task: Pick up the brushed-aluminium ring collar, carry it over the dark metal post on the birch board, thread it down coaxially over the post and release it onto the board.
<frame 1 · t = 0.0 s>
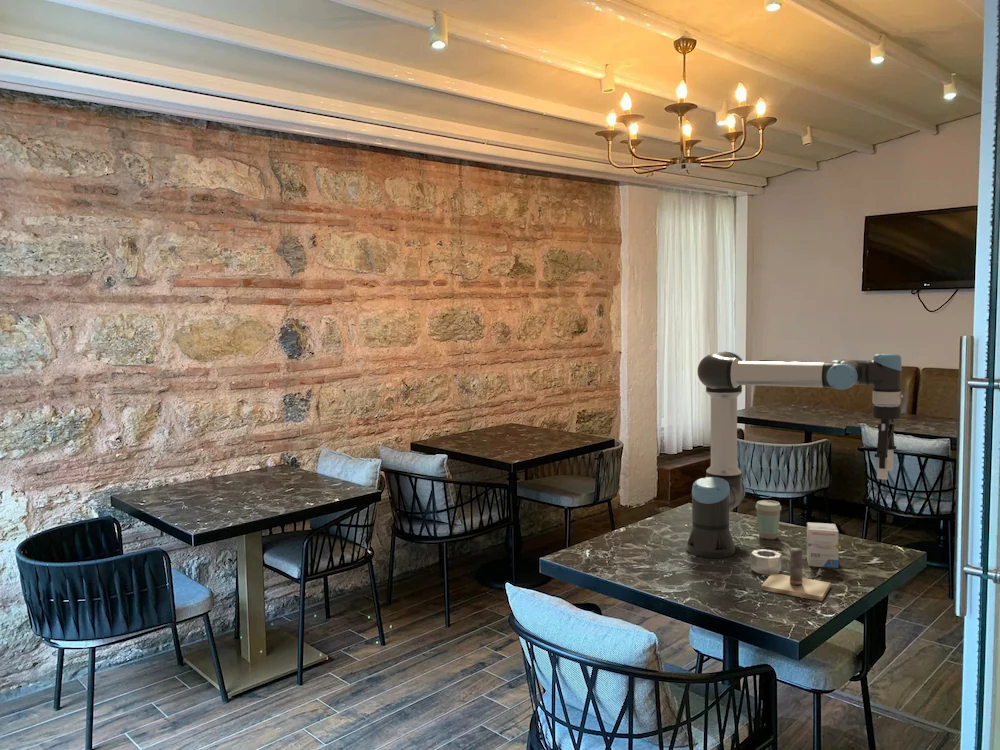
hand: (885, 474, 223), 28 cm above the table, fingers open, 13 cm apart
coffee cup: (768, 537, 256), on the table
ring: (766, 569, 223), on the table
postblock: (796, 588, 208), on the table
ink box: (821, 563, 229), on the table
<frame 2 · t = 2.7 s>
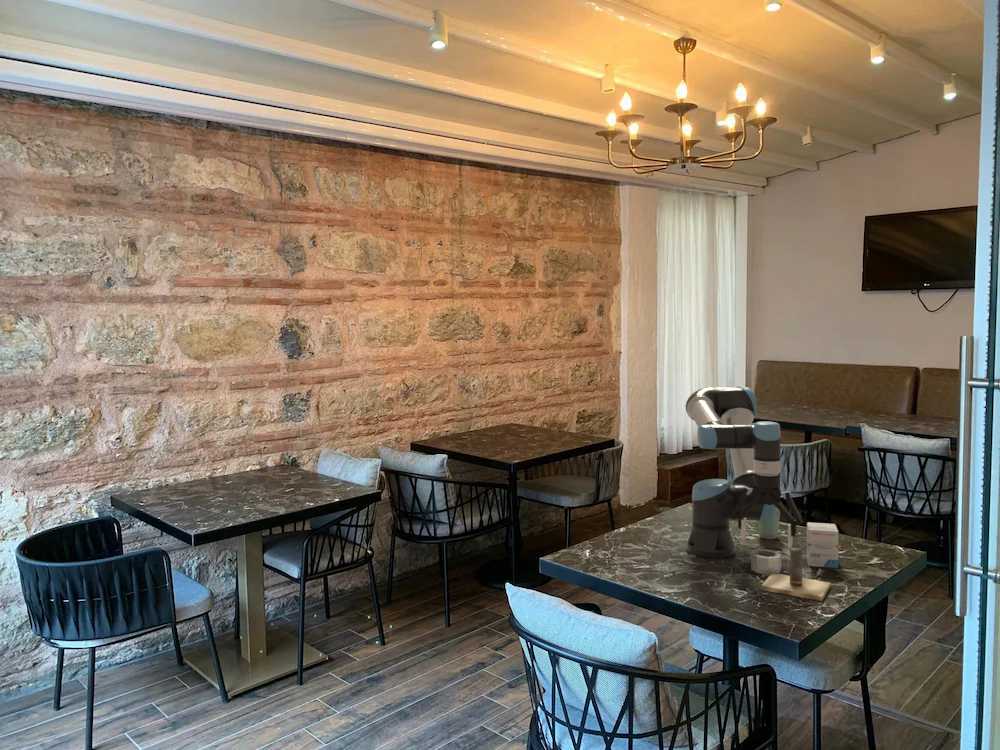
hand: (766, 543, 222), 8 cm above the table, fingers open, 13 cm apart
nothing on the table moved.
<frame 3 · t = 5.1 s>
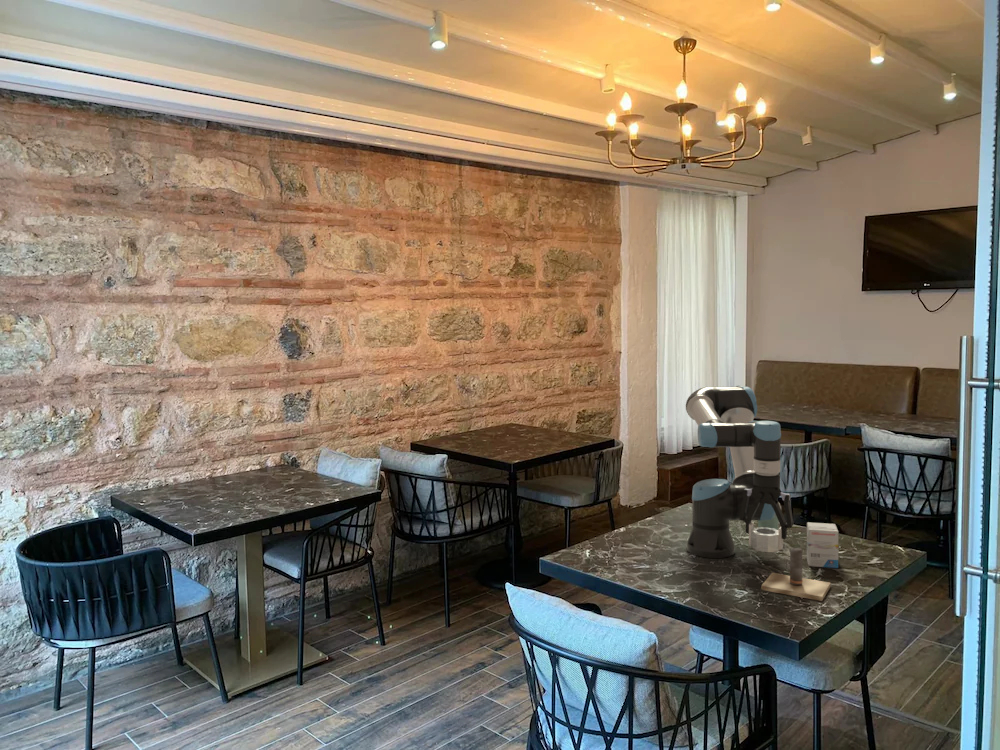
hand: (765, 546, 223), 7 cm above the table, fingers closed on ring, 8 cm apart
ring: (765, 547, 223), point 7 cm above the table, touching gripper
everything else where it was.
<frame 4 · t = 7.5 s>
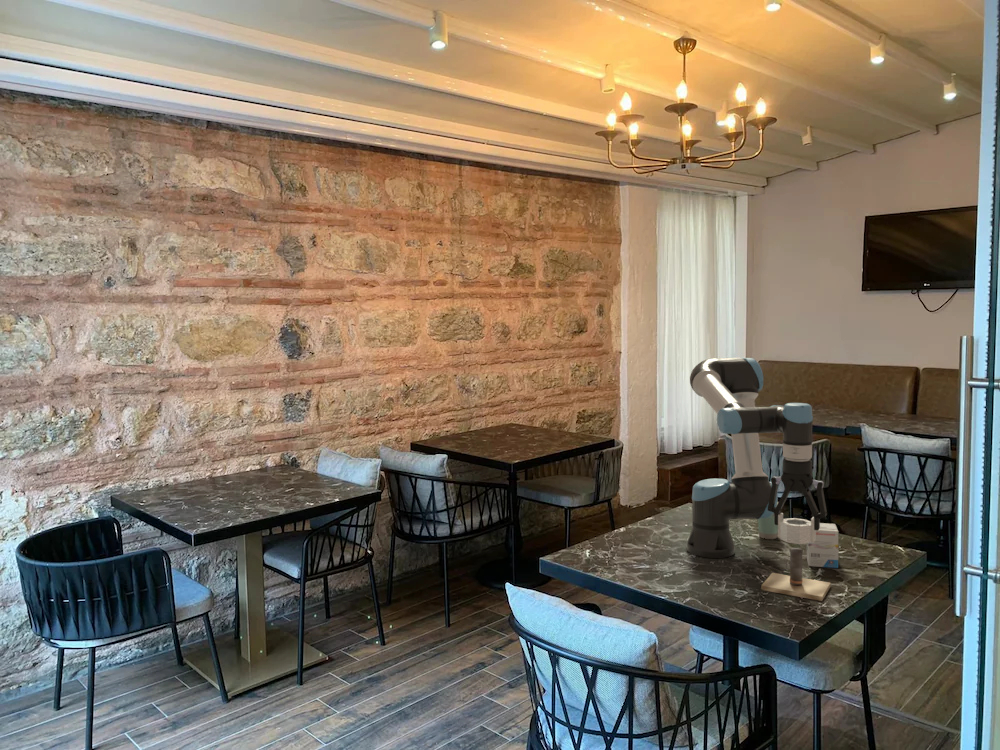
hand: (796, 538, 207), 14 cm above the table, fingers closed on ring, 8 cm apart
ring: (796, 539, 207), point 14 cm above the table, touching gripper
everything else where it was.
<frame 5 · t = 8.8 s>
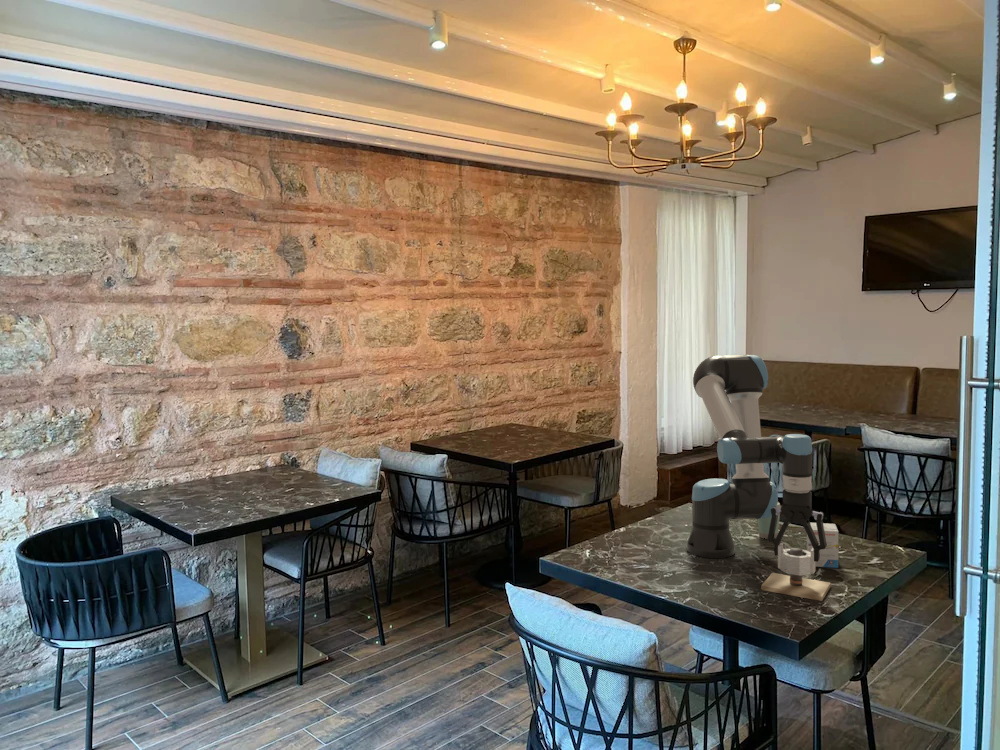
hand: (796, 569, 208), 6 cm above the table, fingers closed on ring, 8 cm apart
ring: (796, 570, 207), point 5 cm above the table, touching gripper
everything else where it was.
when the fingers open (2 cm above the table, at t = 10.0 s): ring stays where it is, resting on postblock.
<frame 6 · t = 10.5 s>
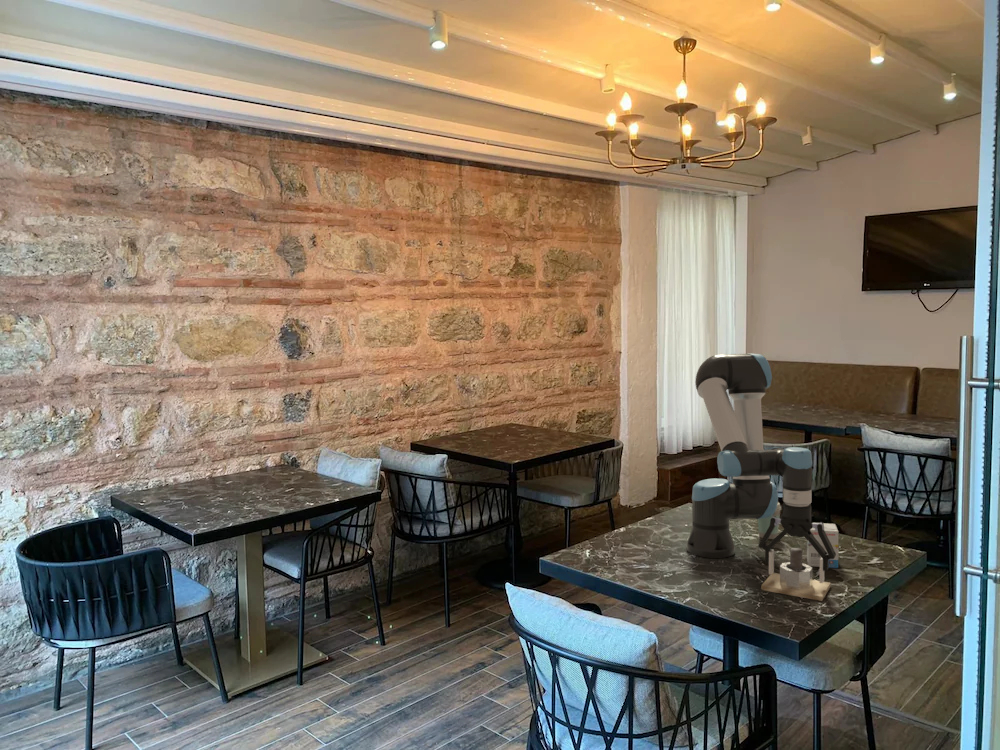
hand: (796, 577, 208), 3 cm above the table, fingers open, 13 cm apart
ring: (795, 584, 208), point 1 cm above the table, touching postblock
everything else where it was.
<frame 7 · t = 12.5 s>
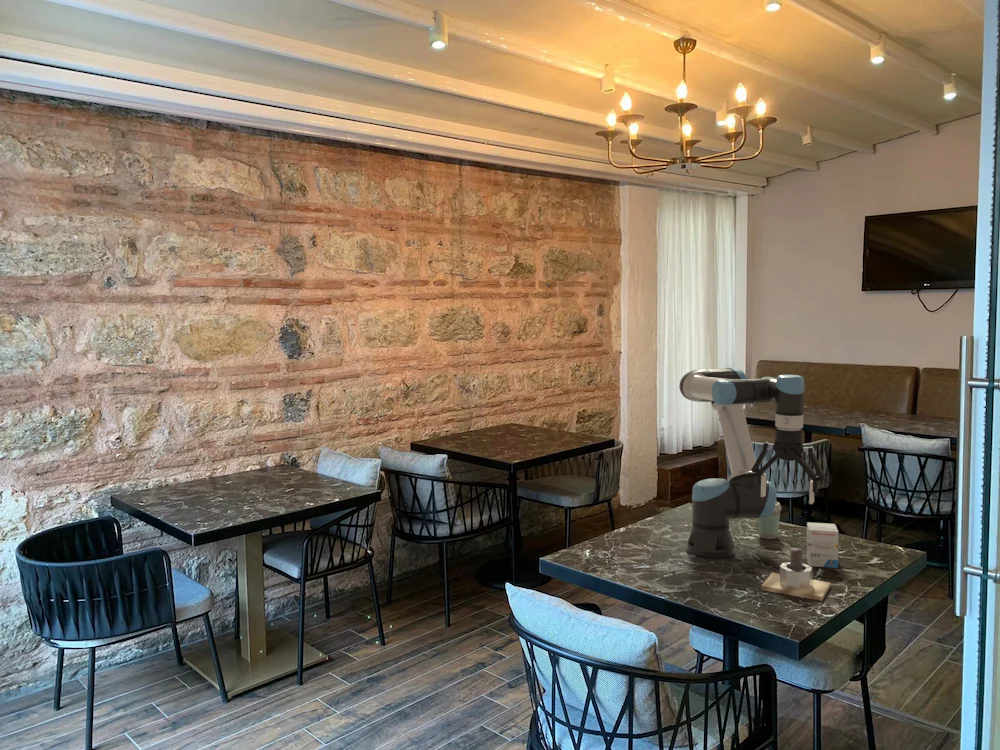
hand: (786, 499, 216), 23 cm above the table, fingers open, 13 cm apart
nothing on the table moved.
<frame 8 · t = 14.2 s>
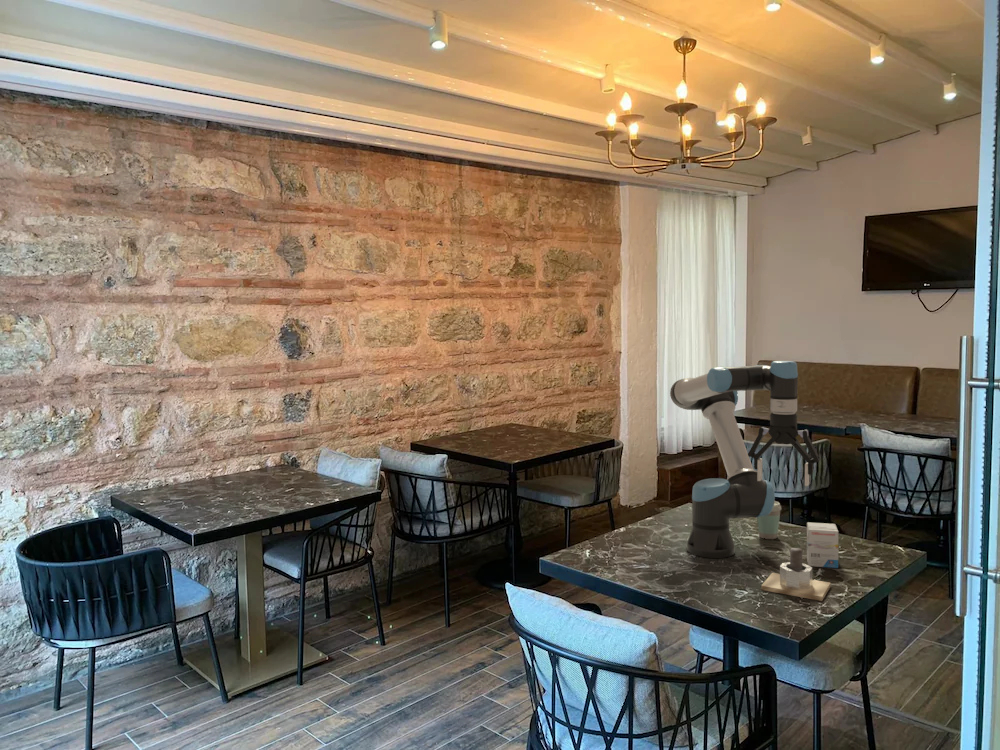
hand: (783, 482, 221), 27 cm above the table, fingers open, 13 cm apart
nothing on the table moved.
at the end: ring 0.1 cm off-centre on the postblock, point 1.2 cm above the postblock's base; the gripper is holding nothing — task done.
